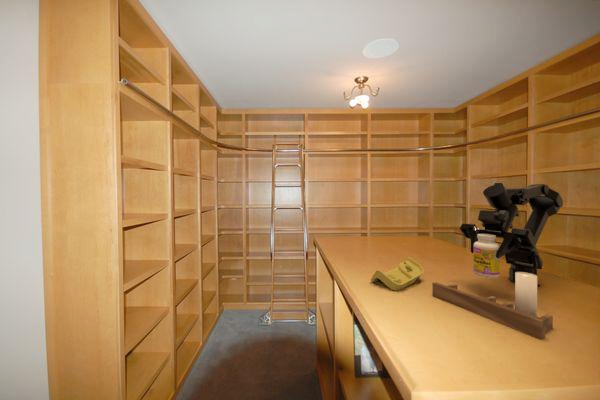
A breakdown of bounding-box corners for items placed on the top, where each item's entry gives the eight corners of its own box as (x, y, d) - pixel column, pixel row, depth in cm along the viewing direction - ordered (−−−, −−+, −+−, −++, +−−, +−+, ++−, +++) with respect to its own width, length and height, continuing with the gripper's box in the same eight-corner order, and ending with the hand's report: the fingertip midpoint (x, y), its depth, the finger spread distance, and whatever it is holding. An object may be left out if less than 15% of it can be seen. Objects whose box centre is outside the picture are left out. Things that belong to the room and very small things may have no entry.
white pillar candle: (519, 316, 62) (519, 271, 62) (540, 323, 58) (540, 275, 58) (511, 319, 60) (512, 273, 60) (532, 327, 57) (532, 278, 56)
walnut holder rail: (448, 290, 79) (449, 278, 79) (557, 329, 56) (557, 312, 56) (432, 295, 75) (432, 283, 75) (541, 339, 52) (541, 321, 52)
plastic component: (398, 286, 77) (375, 267, 84) (390, 302, 80) (368, 282, 87) (428, 270, 88) (405, 254, 96) (420, 285, 91) (399, 268, 99)
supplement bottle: (468, 273, 77) (468, 234, 77) (481, 270, 79) (481, 232, 79) (491, 279, 71) (491, 237, 70) (504, 276, 73) (504, 235, 73)
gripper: (462, 200, 85) (443, 234, 80) (531, 201, 68) (511, 244, 63) (475, 221, 88) (457, 254, 84) (543, 226, 71) (525, 268, 67)
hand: (483, 254), depth 74 cm, fingers closed on supplement bottle, 7 cm apart
